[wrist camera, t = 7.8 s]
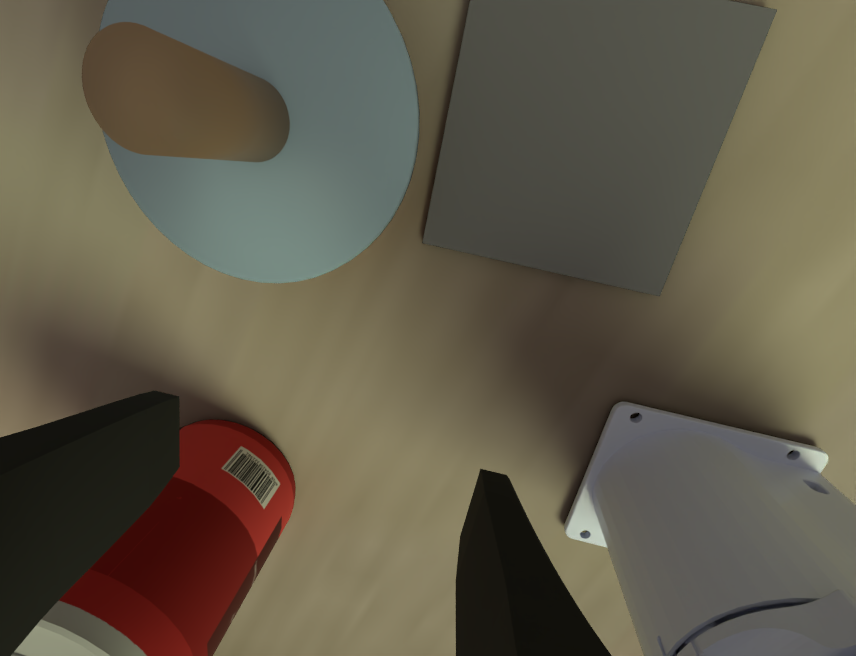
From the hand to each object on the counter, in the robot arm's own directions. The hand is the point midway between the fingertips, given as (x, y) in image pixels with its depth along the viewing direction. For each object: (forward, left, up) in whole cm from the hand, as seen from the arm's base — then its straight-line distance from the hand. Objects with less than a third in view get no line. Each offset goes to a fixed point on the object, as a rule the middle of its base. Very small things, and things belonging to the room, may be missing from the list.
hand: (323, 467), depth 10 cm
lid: (+6, -7, -7) cm, 12 cm away
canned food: (+8, +11, -11) cm, 17 cm away
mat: (-5, -9, -10) cm, 15 cm away
